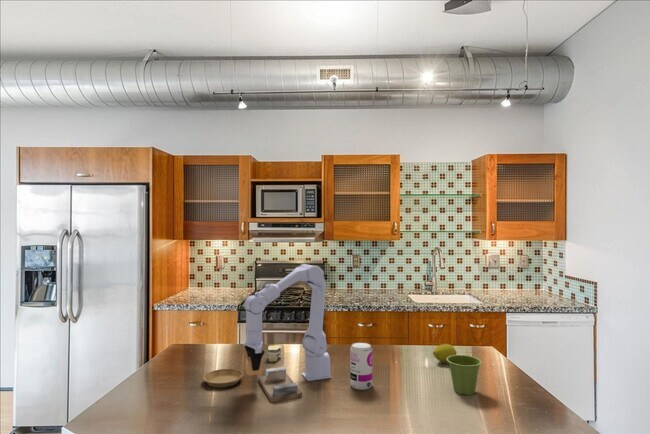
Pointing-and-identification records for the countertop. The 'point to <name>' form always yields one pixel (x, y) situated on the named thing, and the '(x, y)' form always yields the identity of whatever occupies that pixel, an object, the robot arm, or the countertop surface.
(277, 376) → the grey rectangular block
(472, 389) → the plant pot
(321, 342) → the robot arm
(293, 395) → the flat wooden platform
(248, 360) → the light brown cube
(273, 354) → the stacked layers on plate
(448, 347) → the lemon
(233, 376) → the plant saucer
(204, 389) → the countertop surface
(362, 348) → the supplement can
